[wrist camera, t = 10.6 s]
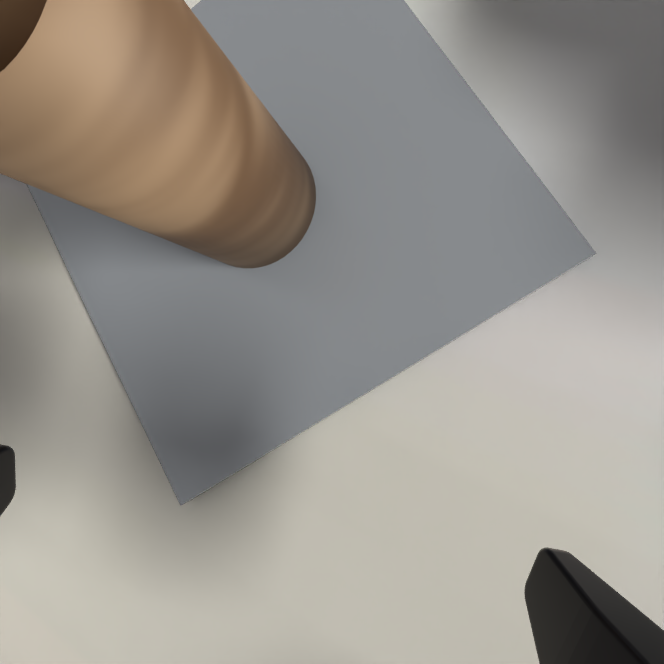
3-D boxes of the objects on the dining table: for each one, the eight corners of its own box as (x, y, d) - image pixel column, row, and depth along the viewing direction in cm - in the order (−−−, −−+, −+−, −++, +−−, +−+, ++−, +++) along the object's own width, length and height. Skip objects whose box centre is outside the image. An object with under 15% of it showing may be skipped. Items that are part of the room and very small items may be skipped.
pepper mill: (316, 263, 17) (-56, 16, 5) (193, 272, 19) (-348, 101, 6) (315, 127, 17) (-40, -453, 5) (193, 146, 19) (-321, -265, 6)
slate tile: (590, 256, 15) (596, 253, 15) (189, 500, 19) (180, 505, 18) (326, -93, 19) (322, -107, 18) (28, 168, 22) (16, 163, 21)
